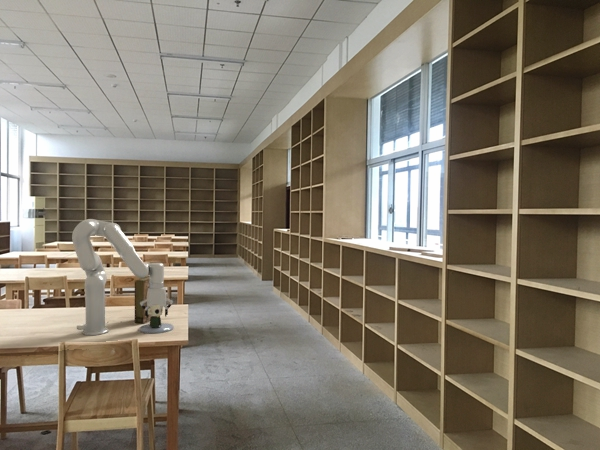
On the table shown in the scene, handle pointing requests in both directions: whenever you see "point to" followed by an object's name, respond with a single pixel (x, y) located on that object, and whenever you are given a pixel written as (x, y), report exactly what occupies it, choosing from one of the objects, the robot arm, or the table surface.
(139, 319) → the book
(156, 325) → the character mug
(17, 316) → the table surface
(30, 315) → the table surface
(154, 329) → the saucer
